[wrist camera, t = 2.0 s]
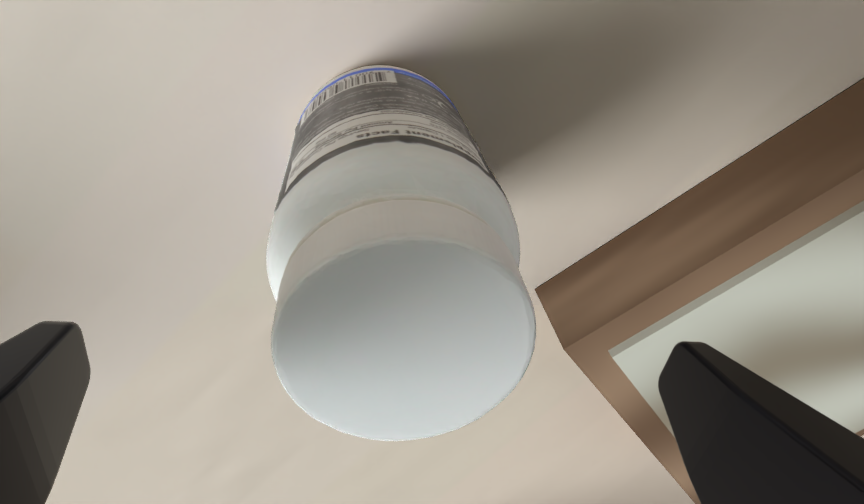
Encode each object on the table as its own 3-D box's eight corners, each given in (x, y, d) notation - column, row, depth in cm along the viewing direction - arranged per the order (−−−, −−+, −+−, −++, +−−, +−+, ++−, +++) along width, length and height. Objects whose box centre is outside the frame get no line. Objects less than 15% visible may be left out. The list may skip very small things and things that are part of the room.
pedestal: (936, 308, 21) (1023, 367, 19) (666, 450, 24) (706, 519, 21) (884, 65, 16) (999, 98, 13) (534, 289, 18) (567, 356, 16)
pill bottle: (436, 235, 17) (498, 471, 10) (282, 204, 16) (223, 447, 8) (488, 87, 14) (618, 254, 7) (312, 37, 13) (267, 179, 6)
